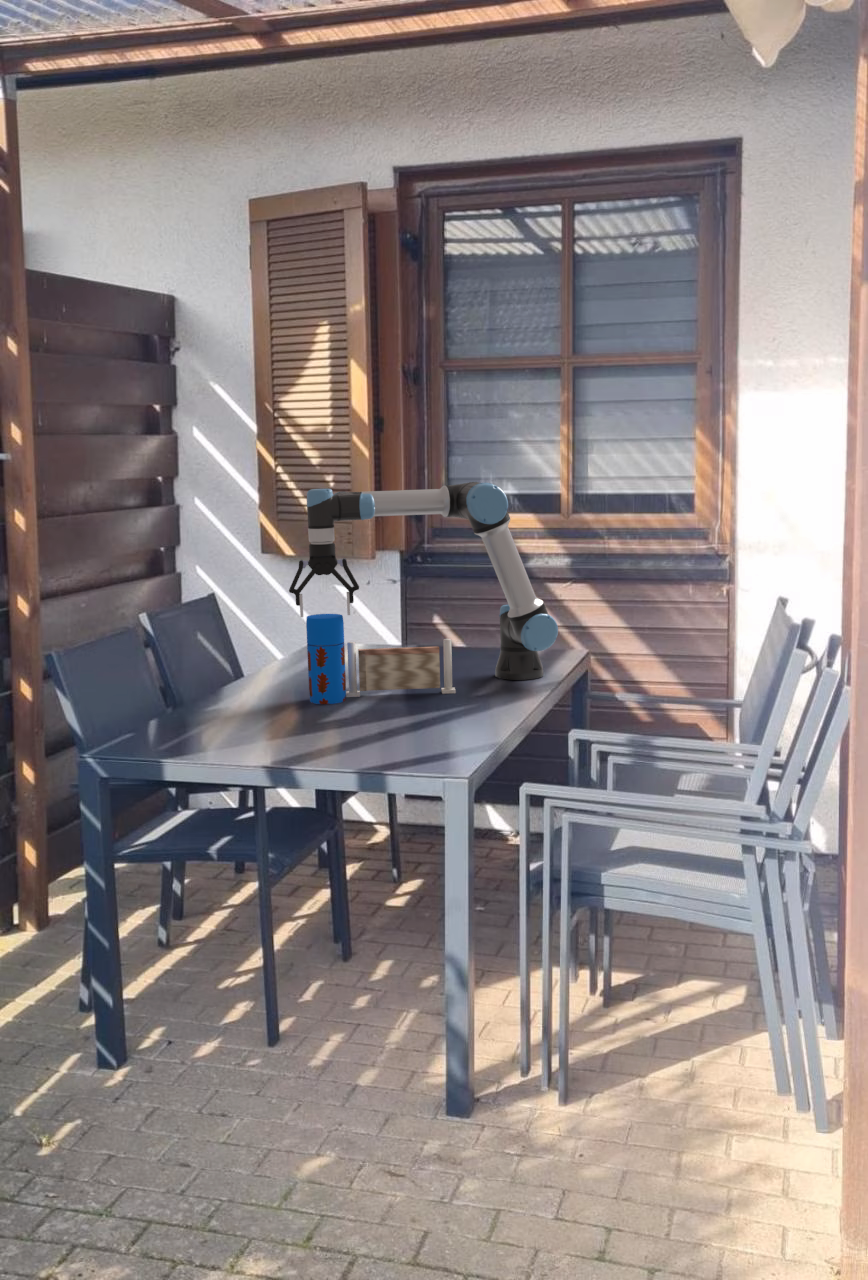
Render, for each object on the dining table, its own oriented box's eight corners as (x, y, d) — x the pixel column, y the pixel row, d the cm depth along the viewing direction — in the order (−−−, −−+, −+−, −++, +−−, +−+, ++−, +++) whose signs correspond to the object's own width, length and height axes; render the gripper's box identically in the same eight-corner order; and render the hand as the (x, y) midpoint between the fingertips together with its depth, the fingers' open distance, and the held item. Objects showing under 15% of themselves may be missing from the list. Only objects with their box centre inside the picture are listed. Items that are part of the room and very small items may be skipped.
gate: (439, 686, 413) (438, 646, 412) (440, 688, 411) (439, 647, 410) (359, 689, 412) (358, 649, 410) (359, 691, 410) (358, 650, 408)
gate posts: (454, 690, 415) (453, 638, 412) (455, 693, 411) (454, 640, 408) (346, 694, 413) (344, 641, 411) (346, 697, 409) (344, 643, 407)
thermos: (340, 704, 399) (337, 618, 395) (305, 704, 401) (301, 618, 397) (350, 697, 409) (347, 613, 405) (315, 696, 411) (312, 613, 407)
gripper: (365, 539, 402) (368, 611, 405) (279, 543, 401) (283, 615, 404) (365, 542, 395) (368, 615, 398) (277, 545, 393) (281, 619, 397)
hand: (325, 615), depth 401 cm, fingers open, 13 cm apart
